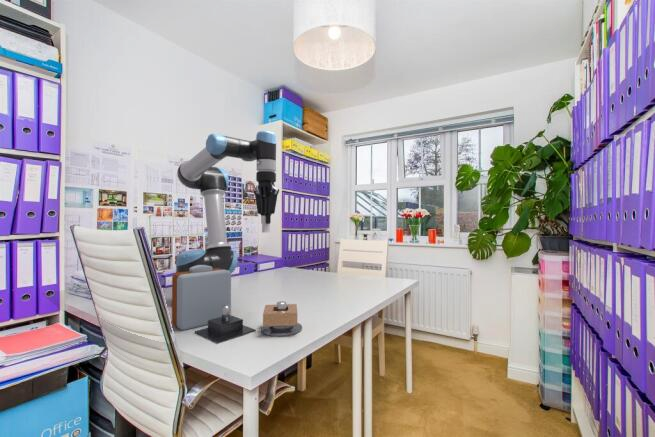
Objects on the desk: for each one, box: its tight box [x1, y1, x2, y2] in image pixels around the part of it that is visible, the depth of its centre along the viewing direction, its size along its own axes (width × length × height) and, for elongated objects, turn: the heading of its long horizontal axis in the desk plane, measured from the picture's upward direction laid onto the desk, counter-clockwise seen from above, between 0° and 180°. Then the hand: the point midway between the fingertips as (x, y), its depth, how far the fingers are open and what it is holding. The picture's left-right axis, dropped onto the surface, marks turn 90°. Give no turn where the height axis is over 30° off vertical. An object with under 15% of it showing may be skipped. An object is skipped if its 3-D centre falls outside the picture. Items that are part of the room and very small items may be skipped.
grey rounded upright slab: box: [171, 265, 232, 331], centre depth 113 cm, size 18×9×21 cm, turn 134°
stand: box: [194, 305, 257, 344], centre depth 104 cm, size 14×14×8 cm
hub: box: [260, 300, 303, 338], centre depth 107 cm, size 14×14×9 cm
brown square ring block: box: [262, 303, 298, 327], centre depth 106 cm, size 11×11×4 cm
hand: (265, 232), depth 122 cm, fingers closed
